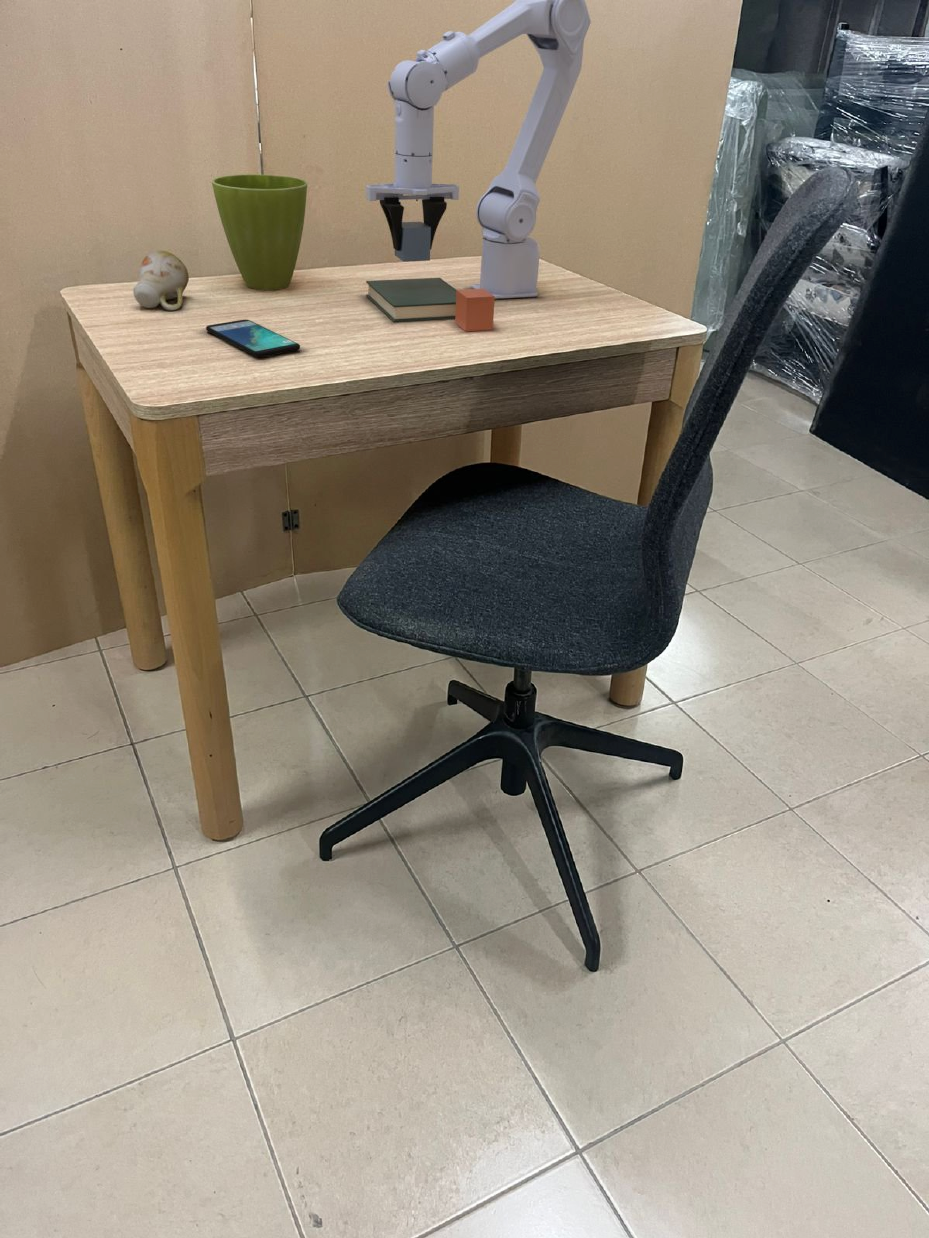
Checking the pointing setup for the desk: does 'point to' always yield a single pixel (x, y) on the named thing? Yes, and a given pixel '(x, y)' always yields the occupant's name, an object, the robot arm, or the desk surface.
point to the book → (413, 299)
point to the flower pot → (262, 225)
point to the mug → (161, 280)
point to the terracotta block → (474, 309)
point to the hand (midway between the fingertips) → (412, 249)
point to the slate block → (415, 242)
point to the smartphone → (253, 338)
